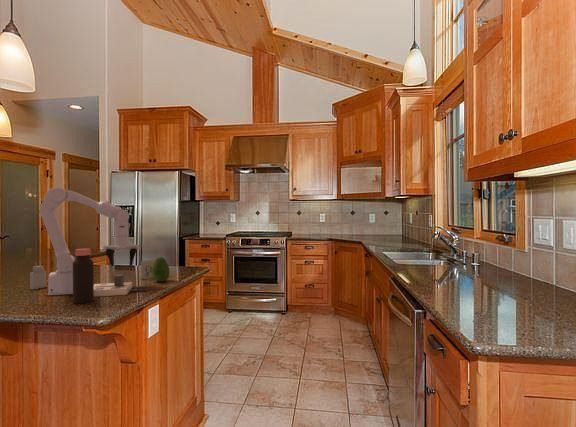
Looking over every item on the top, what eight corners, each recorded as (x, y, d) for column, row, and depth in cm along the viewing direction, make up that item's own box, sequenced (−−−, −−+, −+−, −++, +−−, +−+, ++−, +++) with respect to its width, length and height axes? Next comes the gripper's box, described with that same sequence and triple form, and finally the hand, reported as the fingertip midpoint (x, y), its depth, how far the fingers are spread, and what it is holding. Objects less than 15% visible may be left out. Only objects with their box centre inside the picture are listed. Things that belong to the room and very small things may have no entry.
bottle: (74, 300, 126) (74, 248, 126) (95, 298, 129) (94, 247, 129) (71, 305, 120) (70, 250, 120) (92, 302, 123) (91, 249, 122)
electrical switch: (141, 279, 162) (140, 260, 163) (140, 278, 167) (140, 260, 168) (161, 278, 166) (161, 259, 167) (160, 277, 171) (160, 259, 172)
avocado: (157, 279, 162) (157, 255, 162) (172, 280, 161) (172, 256, 161) (148, 283, 154) (148, 258, 154) (164, 284, 153) (163, 258, 153)
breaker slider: (114, 286, 137) (114, 276, 137) (116, 283, 141) (116, 274, 141) (122, 285, 138) (122, 276, 138) (124, 283, 142) (124, 274, 141)
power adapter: (47, 286, 147) (46, 260, 147) (34, 289, 142) (34, 262, 142) (42, 286, 148) (41, 259, 148) (29, 289, 143) (29, 261, 143)
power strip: (85, 297, 131) (85, 290, 130) (94, 289, 142) (94, 283, 142) (144, 293, 136) (144, 287, 136) (148, 286, 148) (148, 281, 148)
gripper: (101, 236, 142) (101, 267, 143) (137, 236, 146) (137, 266, 146) (105, 235, 149) (105, 265, 149) (140, 234, 153) (140, 263, 153)
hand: (121, 265), depth 148 cm, fingers open, 7 cm apart
